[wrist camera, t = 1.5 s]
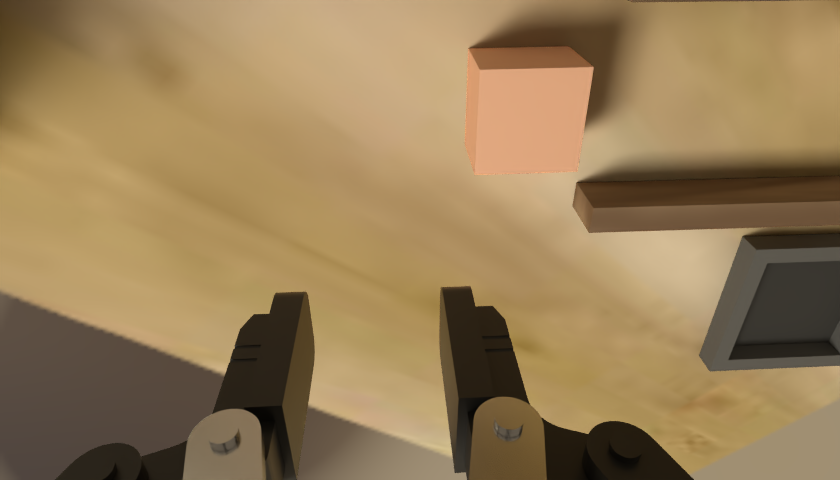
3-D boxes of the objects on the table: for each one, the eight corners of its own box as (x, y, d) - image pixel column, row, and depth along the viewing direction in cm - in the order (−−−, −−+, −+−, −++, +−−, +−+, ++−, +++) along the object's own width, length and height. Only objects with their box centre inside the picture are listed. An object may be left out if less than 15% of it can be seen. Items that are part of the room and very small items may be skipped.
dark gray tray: (742, 236, 34) (756, 249, 33) (897, 231, 34) (917, 244, 33) (699, 355, 39) (709, 371, 38) (834, 350, 40) (849, 365, 39)
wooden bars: (614, -44, 25) (639, -38, 23) (947, -47, 26) (1008, -40, 23) (572, 206, 32) (589, 232, 30) (837, 198, 33) (874, 223, 30)
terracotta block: (468, 47, 27) (479, 69, 24) (567, 45, 27) (593, 67, 24) (464, 142, 30) (474, 175, 27) (555, 140, 30) (577, 171, 27)
